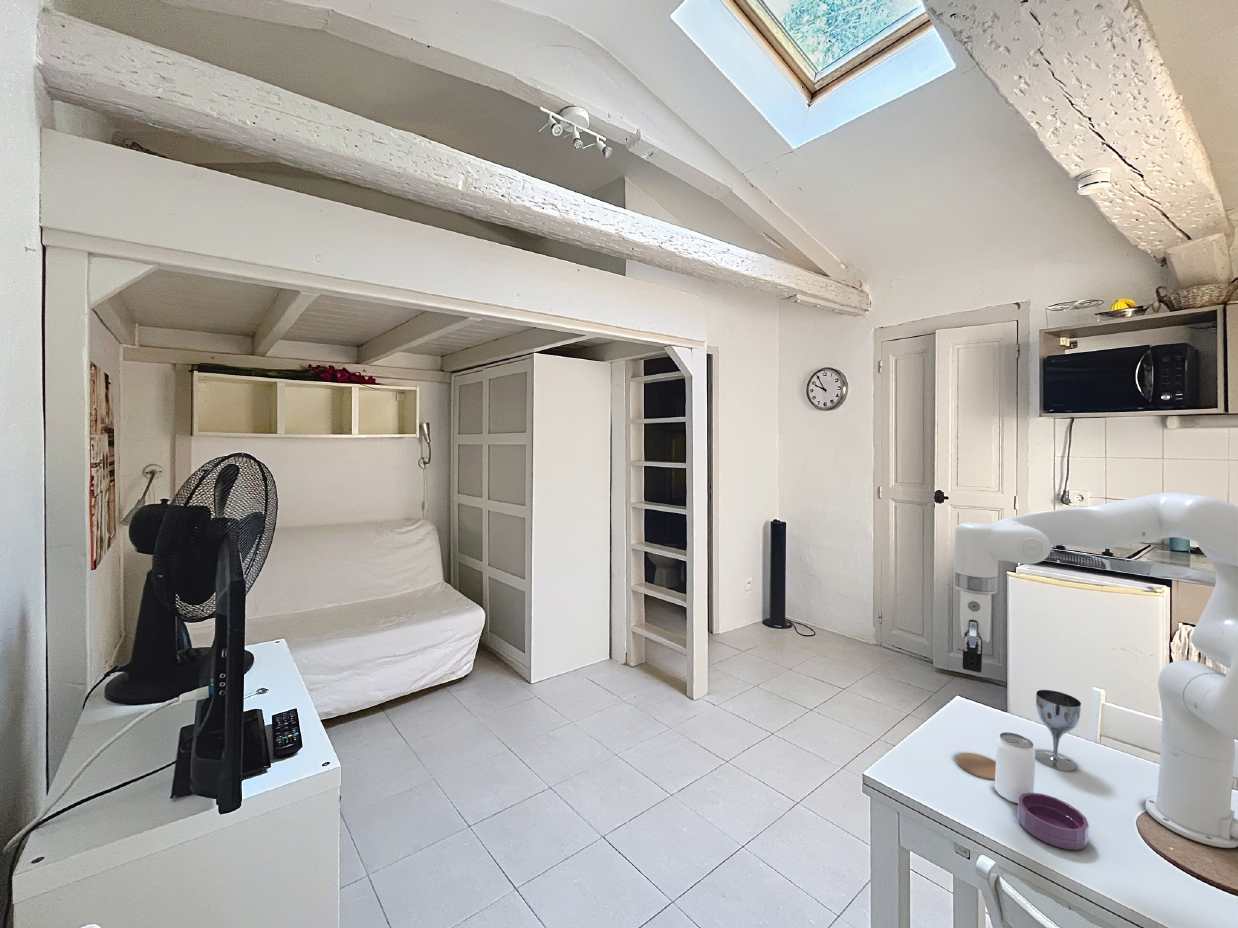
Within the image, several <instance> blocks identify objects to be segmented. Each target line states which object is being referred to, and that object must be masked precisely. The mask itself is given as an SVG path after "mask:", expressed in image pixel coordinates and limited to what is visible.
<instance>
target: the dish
mask: <svg viewBox="0 0 1238 928" xmlns="http://www.w3.org/2000/svg"><path fill="white" fill-rule="evenodd" d="M1016 814H1017V820H1018V823H1019V824H1020V825H1021V826H1022V827H1023V829H1024V830H1026V831H1027V833H1030V834H1031V835H1032V836H1034V837H1036V838H1037V839H1039V840H1040V841H1042V842H1044V843H1046V844H1048V845H1050V846H1054V847H1057V848H1061V849H1065V850H1075V851H1077V850H1081V849H1085V848H1086V846H1087V845H1088V843H1089V828H1090V827H1089V822H1088V819H1087V817H1086V816H1085V815H1084V814H1083V813H1082V812H1081V811H1080V810H1078V809H1077V808H1076V807H1074V806H1072V805H1070V803H1068V802H1065V801H1063V800H1061V799H1059V798H1057V797H1054V796H1051V795H1047V794H1044V793H1039V792H1034V793H1024V794H1022V795H1021V796H1020V797H1019V798H1018V804H1017V812H1016Z"/></svg>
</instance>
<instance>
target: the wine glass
mask: <svg viewBox="0 0 1238 928" xmlns="http://www.w3.org/2000/svg"><path fill="white" fill-rule="evenodd" d="M1035 704H1036V705H1035V706H1036V711H1037V716H1038V718H1039V720H1040V722H1042V724H1043V725H1044V726H1045V727H1046V728H1047V730H1048V731H1049V732H1050V734H1051V737H1052V744H1053V745H1052V746H1053V748H1052V749H1053V750H1052V751H1053V752H1051V751H1042V750H1040V751H1038V752H1035V759H1037V760H1038V761H1039V762H1041V763H1042V764H1044V765H1046V766H1048V767H1051V768H1052V769H1056V770H1060V771H1066V772H1068V771H1069V772H1070V771H1074V770H1075V769H1076V765H1075V764H1074V762H1073V761H1071V760H1070V759H1068V758H1067V757H1065V756H1062V755H1060V754H1059V753H1058V752H1059V751H1058V750H1059V746H1060V745H1059V744H1060V740H1061V738H1062V737H1063V736H1064V735H1066V734H1068V733H1070V732H1072V731H1073V730H1075V728H1076V727H1078V723H1079V722H1080V718H1081V711H1082V702H1081V701H1080V700H1078V699H1077V698H1075V697H1074V696H1072V695H1069V694H1067V693H1064V692H1061V691H1056V690H1051V689H1040V690H1037V691H1036V695H1035Z"/></svg>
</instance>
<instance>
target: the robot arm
mask: <svg viewBox="0 0 1238 928" xmlns="http://www.w3.org/2000/svg"><path fill="white" fill-rule="evenodd" d="M954 534H955V535H954V536H955V537H954V540H955V541H954V563H953V564H954V569H953V588H955V589H956V590H959V592H960V594H959V622H960V623H959V624H960V636H961V637H962V638H963V639H964V644H963V645H964V647H963V649H962V669H963V670H965V671H970V672H975V673H982V663H983V641H984V642H985V643H989V642H990V641H991V618H992V595H994V594H997V593H998V576H999V561H1004V562H1011V563H1016V564H1023V565H1033V564H1037V563H1041V562H1043V561H1044V560H1046V559H1047V558H1049V555H1050V554H1051V551H1052V546H1071V547H1079V548H1080V547H1082V548H1091V549H1114V548H1118V547H1125V546H1130V545H1135V544H1141V543H1147V542H1151V541H1152V542H1153V541H1157V540H1164V539H1169V538H1179V539H1183V540H1188V541H1191V542H1194V543H1195V542H1196V543H1197V546H1198V548H1199V549H1200V552H1202V553H1203V555H1204V556H1205V557H1206V558H1207V559H1208V561H1209V562H1210V564H1211V565H1212V567H1213V570H1214V575H1215V584H1214V588H1213V591H1212V592H1211V595H1210V597H1209V599H1208V601H1207V603H1206V605H1205V607H1204V609H1203V611H1202V613H1201V614H1200V616H1199V618H1198V621H1197V623H1196V624H1195V626H1194V628H1193V631H1192V635H1191V643H1192V645H1193V647H1194V648H1195V649H1196V651H1198V652H1199V653H1200V654H1202V655H1203V656H1205V657H1206V658H1208V659H1209V660H1212V661H1214V662H1215V663H1217V664H1219V665H1221V666H1223V667H1225V668H1228V670H1227V673H1224V672H1222V671H1220V670H1218V669H1217V668H1214V667H1213V666H1210V665H1208V664H1205V663H1202V662H1199V661H1195V660H1189V659H1188V660H1186V659H1185V660H1184V659H1181V660H1175V661H1172V662H1170V663H1168V664H1166V665H1165V666H1164V667H1163V668H1162V669H1161V670H1160V672H1159V676H1158V681H1157V683H1158V684H1157V686H1158V687H1157V688H1158V694H1159V698H1160V705H1161V737H1160V749H1159V750H1160V751H1159V765H1158V781H1157V795H1155V796H1150V797H1148V798H1146V800H1145V809H1146V812H1147V813H1148V814H1149V815H1150V816H1151V818H1153V819H1154V820H1155V821H1156V822H1158V823H1159V824H1160V825H1162V826H1164V827H1165V828H1166V829H1169V830H1170V831H1172V832H1174V833H1176V834H1178V835H1180V836H1182V837H1184V838H1186V839H1189V840H1192V841H1195V842H1198V843H1200V844H1204V845H1208V846H1211V847H1217V848H1222V849H1223V848H1224V849H1233V848H1237V847H1238V818H1235V810H1233V809H1231V808H1232V794H1233V780H1234V779H1233V778H1234V768H1235V767H1234V765H1235V757H1236V742H1235V740H1236V741H1238V506H1237V505H1235V504H1233V503H1231V502H1228V501H1225V500H1223V499H1220V498H1217V497H1214V496H1209V495H1204V494H1203V495H1202V494H1196V493H1188V492H1181V491H1164V492H1156V493H1152V494H1147V495H1142V496H1136V497H1132V498H1127V499H1122V500H1117V501H1112V502H1107V503H1101V504H1096V505H1091V506H1081V507H1070V508H1065V509H1064V508H1063V509H1056V510H1055V509H1054V510H1045V511H1037V512H1031V513H1026V514H1020V515H1016V516H1011V517H1006V518H1002V519H998V520H996V521H994V522H993V523H991V524H990V523H989V524H988V523H984V522H961V523H959V524H957V526H956V527H955V533H954Z"/></svg>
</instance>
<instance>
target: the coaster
mask: <svg viewBox="0 0 1238 928" xmlns="http://www.w3.org/2000/svg"><path fill="white" fill-rule="evenodd" d="M956 762H957V764H958V766H959V767H960V768H961V769H962V770H964V771H966V772H967V773H968V774H971V775H973V776H976V777H978V778H982V779H987V780H993V781H995V770H996V760H993V759H991V758H989V757H986V756H984V755H979V754H976V753H971V752H964V753H960V754H958V755H957V757H956Z"/></svg>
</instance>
